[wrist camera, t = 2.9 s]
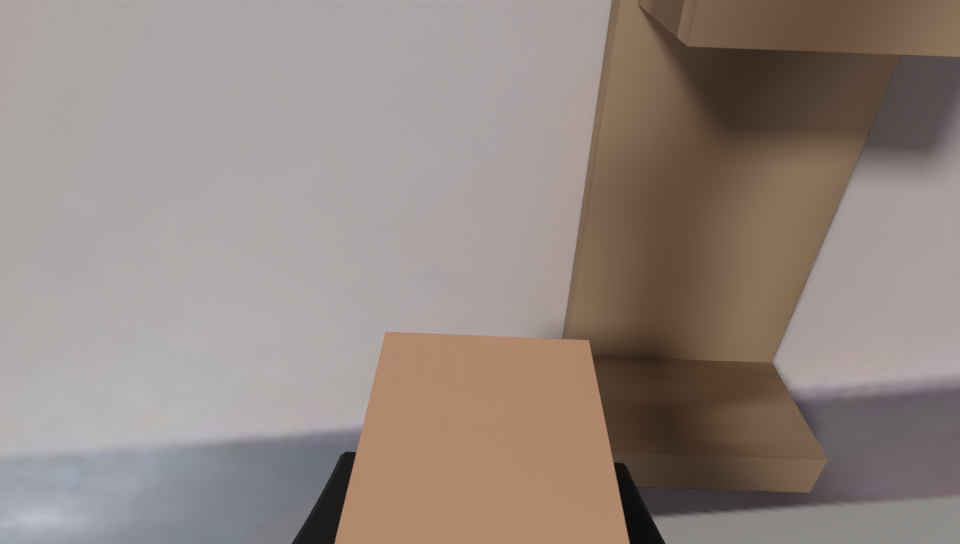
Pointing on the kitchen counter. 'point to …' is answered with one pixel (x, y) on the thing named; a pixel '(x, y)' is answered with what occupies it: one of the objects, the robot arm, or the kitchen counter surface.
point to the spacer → (483, 446)
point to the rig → (723, 218)
